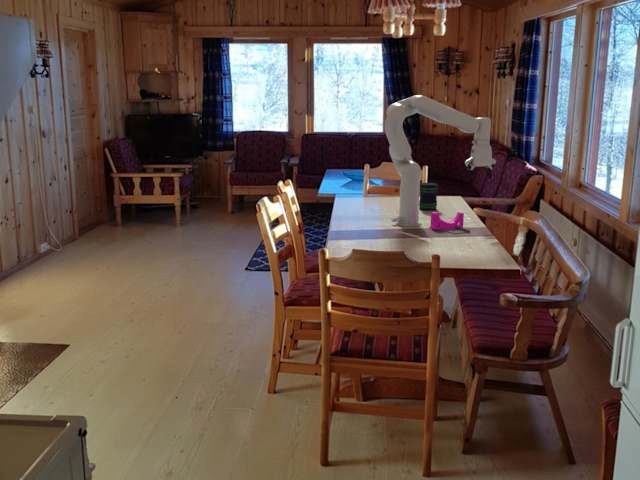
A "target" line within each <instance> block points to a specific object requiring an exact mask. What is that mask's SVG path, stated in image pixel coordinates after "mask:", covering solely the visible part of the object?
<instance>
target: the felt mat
mask: <svg viewBox="0 0 640 480" xmlns="http://www.w3.org/2000/svg"><path fill="white" fill-rule="evenodd" d="M428 228H429V229H431V228H430V226H429V227H428ZM440 231H442V232H445V233H449V234H450V233H451V234H454V235H457V234H464V233H467V232H465V231H461V230H457V229H447V230H440Z"/></svg>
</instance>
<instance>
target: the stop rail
mask: <svg viewBox="0 0 640 480" xmlns="http://www.w3.org/2000/svg"><path fill="white" fill-rule="evenodd" d="M455 229H457V230H461V231H465V232H466V233H468V234H470V233H471V229H468V228H464V227H463V228H460V227H455Z"/></svg>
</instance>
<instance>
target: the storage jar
mask: <svg viewBox="0 0 640 480" xmlns="http://www.w3.org/2000/svg"><path fill="white" fill-rule="evenodd" d="M438 186H439V185H438V183H435V182H420V188H419V210H421V211H425V212H426V211H427V212H435V211H437V206H438V204H437V203H438V200H437V199H438V198H437V196H438Z"/></svg>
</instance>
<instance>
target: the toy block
mask: <svg viewBox="0 0 640 480" xmlns="http://www.w3.org/2000/svg"><path fill="white" fill-rule="evenodd" d="M464 214H465V213H464V212H462V211H461V212H460V211H459V212H458V211H457V213H456V215H455V216H454V218H453V219H451V220H449V221H444V220H443V219H442V218H441V216H440V213H439V212H437V211H436V212H435V211H430V226H429V227H430V228H429V229H432V230H439V231H441V230H447V229H455V227H460V228H464V219H465V218H464V217H465V215H464Z"/></svg>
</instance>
